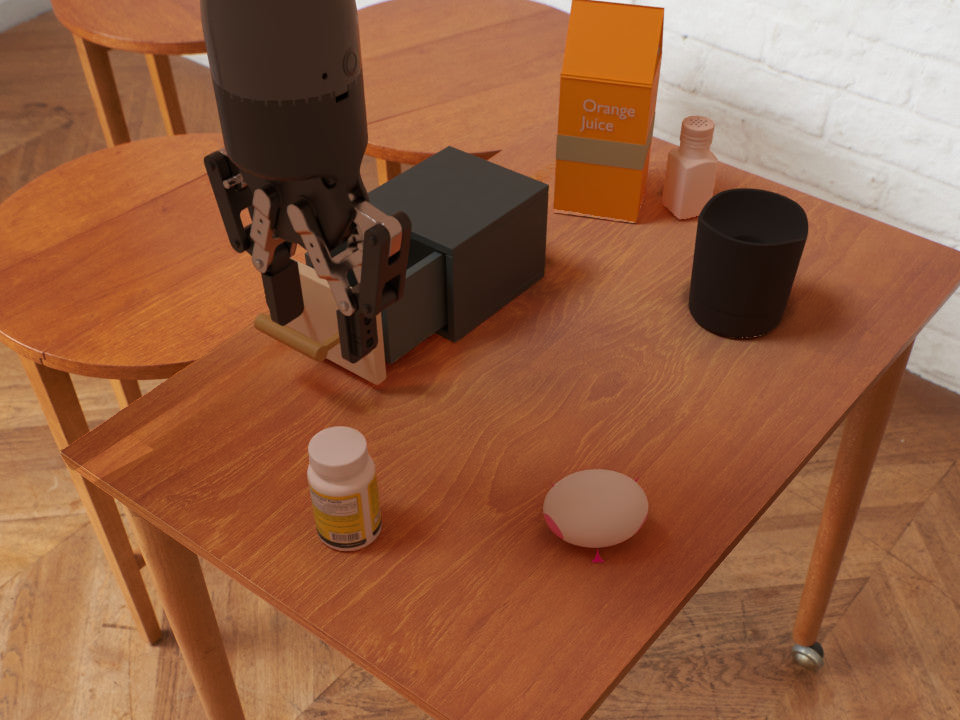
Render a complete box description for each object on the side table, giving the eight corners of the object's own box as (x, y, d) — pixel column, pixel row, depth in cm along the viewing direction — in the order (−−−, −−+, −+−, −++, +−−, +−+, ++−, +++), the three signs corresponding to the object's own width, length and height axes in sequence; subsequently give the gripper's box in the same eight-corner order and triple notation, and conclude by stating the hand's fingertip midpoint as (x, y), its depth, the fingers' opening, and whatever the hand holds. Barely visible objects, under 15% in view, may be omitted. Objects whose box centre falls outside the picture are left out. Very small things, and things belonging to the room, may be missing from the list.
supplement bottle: (355, 496, 79) (344, 412, 73) (395, 530, 77) (387, 445, 71) (303, 528, 77) (288, 444, 71) (343, 563, 75) (331, 479, 69)
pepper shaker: (678, 223, 108) (691, 135, 101) (658, 204, 110) (670, 117, 103) (711, 215, 109) (726, 127, 102) (691, 197, 111) (705, 110, 105)
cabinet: (454, 343, 93) (452, 249, 86) (358, 296, 98) (348, 203, 91) (544, 276, 101) (549, 184, 94) (451, 235, 105) (449, 145, 98)
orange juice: (636, 225, 107) (660, 24, 93) (552, 213, 109) (562, 13, 94) (646, 187, 113) (670, -8, 98) (566, 177, 114) (578, -18, 100)
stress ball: (630, 542, 81) (629, 457, 80) (659, 567, 73) (659, 473, 72) (533, 548, 80) (531, 462, 79) (552, 574, 72) (550, 479, 71)
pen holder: (807, 325, 96) (833, 228, 89) (724, 355, 93) (745, 256, 85) (743, 274, 101) (763, 178, 94) (663, 300, 98) (677, 203, 91)
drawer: (337, 414, 85) (327, 336, 79) (248, 364, 89) (232, 286, 83) (471, 316, 94) (470, 240, 89) (384, 275, 98) (378, 200, 93)
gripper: (132, 47, 53) (198, 321, 65) (338, 131, 47) (368, 415, 60) (243, 3, 57) (285, 269, 70) (444, 76, 52) (452, 352, 64)
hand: (323, 335), depth 65 cm, fingers open, 5 cm apart
